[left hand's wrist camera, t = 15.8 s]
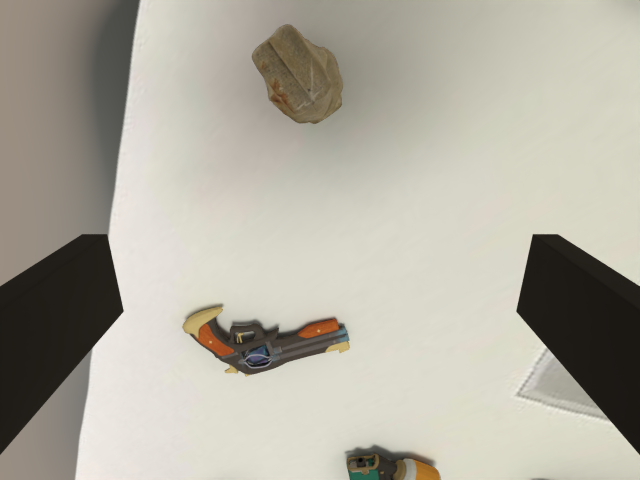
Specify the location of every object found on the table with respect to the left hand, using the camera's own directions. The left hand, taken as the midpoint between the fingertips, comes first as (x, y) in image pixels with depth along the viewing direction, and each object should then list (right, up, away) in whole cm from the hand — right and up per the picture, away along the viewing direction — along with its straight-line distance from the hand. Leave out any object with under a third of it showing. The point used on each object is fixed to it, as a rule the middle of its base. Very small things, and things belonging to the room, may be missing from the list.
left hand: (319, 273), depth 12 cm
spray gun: (+11, -37, +48) cm, 61 cm away
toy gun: (-6, -10, +37) cm, 39 cm away
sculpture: (-1, +17, +27) cm, 31 cm away
